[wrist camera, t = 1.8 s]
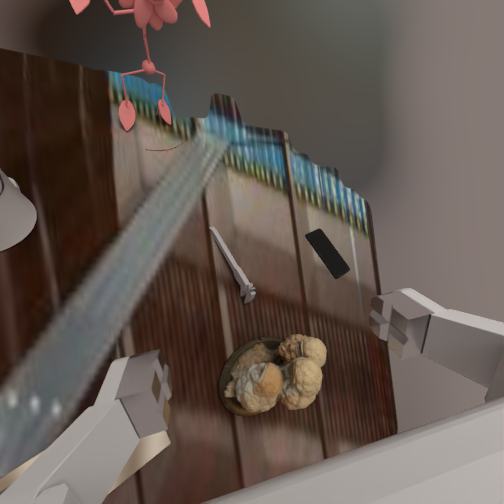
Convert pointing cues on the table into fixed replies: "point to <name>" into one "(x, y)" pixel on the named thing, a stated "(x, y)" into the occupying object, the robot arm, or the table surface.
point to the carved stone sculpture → (272, 374)
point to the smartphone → (327, 253)
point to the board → (138, 458)
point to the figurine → (155, 12)
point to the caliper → (235, 268)
